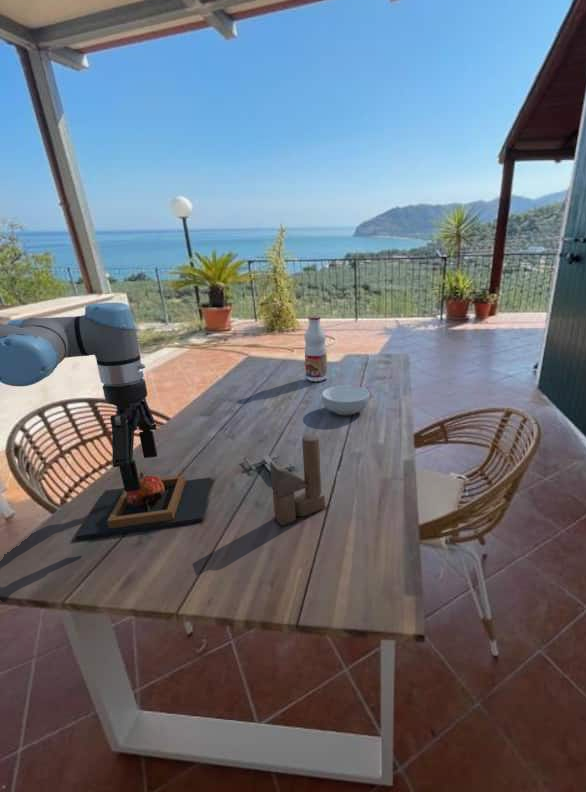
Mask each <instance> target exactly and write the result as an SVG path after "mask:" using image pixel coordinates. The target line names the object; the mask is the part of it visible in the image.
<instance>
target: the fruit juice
mask: <svg viewBox="0 0 586 792" xmlns="http://www.w3.org/2000/svg"><path fill="white" fill-rule="evenodd" d="M307 319H308V327H307V330H306V332H305V333H304V336H303V337H304V338H303V339H304V343H305V346H304V365H305V377H306V376H307V377H310V378H319V377H324V376H326V375H327V376H328V359H327V355H328V354H327V346H326V339H327V338H326V333H325V331H323V329H322V326H321V322H320V321H321V316H320V315H309V316H307Z"/></svg>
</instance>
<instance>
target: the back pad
mask: <svg viewBox="0 0 586 792" xmlns="http://www.w3.org/2000/svg"><path fill="white" fill-rule="evenodd" d="M158 478H159V479H160V480H161V481H162V483H163V485H164V493H163V495H162V497H161V499H160V500H157V501H155V502H149V503H148V505H149V506H150V508H149V510H150V512H148V507H147V504H145V505H143V506H140V507H137V506H134V505H133V504H132V503H130V502H129V501H128V499H127V494H126V493H127V492H125V489H124V487H121V488H115V489H105V490H104V492H103V493H102V494H101V496H100V498H99V500H98V501H97V503H96V504H95V506H94V507H93V509H92V510H91V512H90V514H89V515H88V516H87V518H86V520H85V521H84V523H83V524H82V526H81V527H80V529H79V531H78V532H77V534H76V535H75V538H76V540H77V541H80V540H85V539H86V540H87V539H93V538H94V539H95V538H100V537H107V536H114V535H121V534H126V533H128V534H129V533H134V532H135V533H136V532H141V531H149V530H155V529H162V528H169V527H175V526H183V525H189V524H196V523H202V522H203V519H204V514H205V510H206V506H207V500H208V496H209V492H210V488H211V483H212V477H203V478H202V477H201V478H194V479H186V477H185V475H175V476H167V477H158Z"/></svg>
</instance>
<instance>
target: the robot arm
mask: <svg viewBox="0 0 586 792" xmlns="http://www.w3.org/2000/svg"><path fill="white" fill-rule="evenodd" d="M136 328H137V327H136V324H135V321H134V317H133V313H132V309H131V307H130V306H129V305H128V304H127V303H123V302H102V303H92V304H91V303H90V304H88V305H86V306H85V308H84V314H82V315H76V316H57V317H55V316H54V317H53V316H52V317H28V318H19V319H12V320H9V321H8V322H7V323H2V322H0V383H1V384H4V385H7V386H11V387H28V386H32V385H36V384H37V383H39V382H41V381H42V380H44V379H46V378H47V377H49V376H50V375H52V374H53V373H54V371H55V370H56V368H57V367H58V365H60V363H61V362H63V361H64V360H65V359H69V358H77V357H87V356H88V357H90V356H94V358H95V360H96V366H97V371H98V375H99V380H100V383H102V384H103V385H102V391H103V395H104V400H105V402H106V403H107V404H109V405H111V406H112V405H113V406H115V408H116V411H115V414H113V415H110V419H109V420H110V425H111V446H112V447H111V448H112V452H111V453H112V461H111V462H112V463H111V465H112V467H113V468H119V471H120V476H121V480H122V486H123V488H124V489H125V492H128V491H136V490H140V488H141V487H140V482H139V479H140V477H139V474H138V468H137V464H136V460H133V459H134V445H135V444H134V443H135V431H137V430H138V429H139V432H138V435H139V440H140V446H141V450H142V455H143V459H150V458H157V456H158V452H157V447H156V441H155V436H154V431H155V430H157V424H155V419H154V416H153V413H152V412H151V409H150V406H149V404H148V402H147V399H146V398H147V396H148V389H147V384H146V383H147V382H146V380H145V379H144V376H145V375H144V370H143V369H145V368H146V365H145V364H144V363H142V358H141V357H142V356H141V351H140V345H139V340H138V334H137V329H136Z"/></svg>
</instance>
